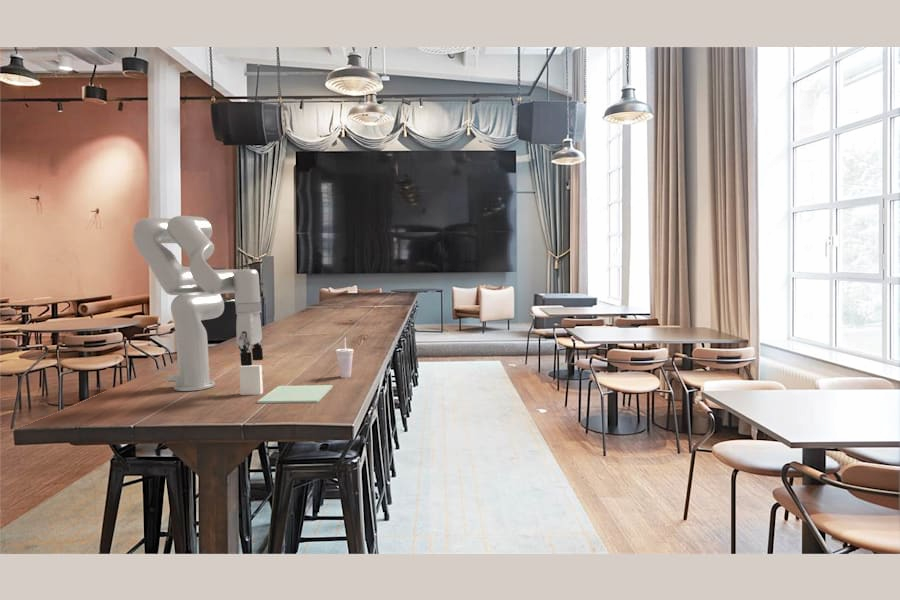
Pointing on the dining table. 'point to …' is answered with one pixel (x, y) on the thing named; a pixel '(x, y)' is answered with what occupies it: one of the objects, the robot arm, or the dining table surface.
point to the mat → (296, 394)
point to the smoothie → (345, 361)
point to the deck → (251, 380)
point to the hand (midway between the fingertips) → (252, 362)
